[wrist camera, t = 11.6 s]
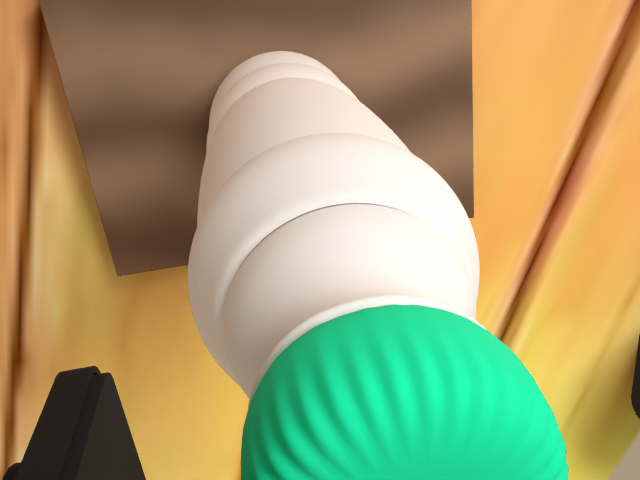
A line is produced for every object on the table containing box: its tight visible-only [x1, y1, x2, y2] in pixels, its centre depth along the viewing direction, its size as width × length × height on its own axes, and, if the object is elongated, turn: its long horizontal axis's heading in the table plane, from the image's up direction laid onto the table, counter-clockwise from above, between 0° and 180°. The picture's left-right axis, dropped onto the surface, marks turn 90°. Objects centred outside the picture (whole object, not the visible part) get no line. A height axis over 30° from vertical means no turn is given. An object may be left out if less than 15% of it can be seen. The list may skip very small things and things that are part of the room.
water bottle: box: [188, 51, 568, 480], centre depth 19 cm, size 7×7×25 cm
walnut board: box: [39, 0, 474, 276], centre depth 31 cm, size 14×20×2 cm
